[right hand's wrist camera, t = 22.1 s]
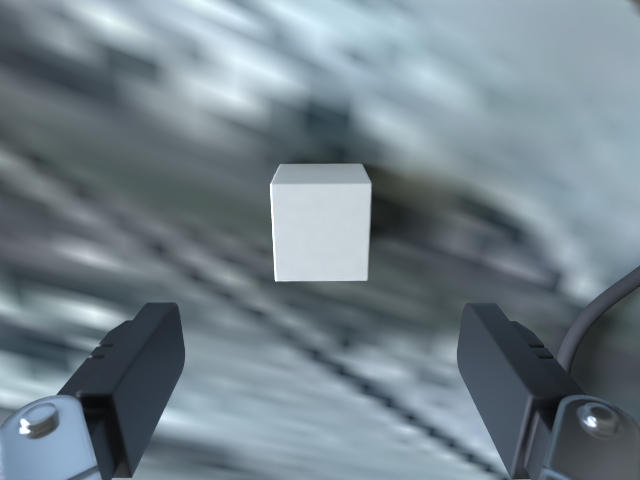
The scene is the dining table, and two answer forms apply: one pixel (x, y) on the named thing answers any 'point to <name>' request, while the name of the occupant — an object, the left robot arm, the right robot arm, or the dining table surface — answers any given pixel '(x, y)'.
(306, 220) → the block
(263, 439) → the dining table surface
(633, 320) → the dining table surface
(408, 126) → the dining table surface
